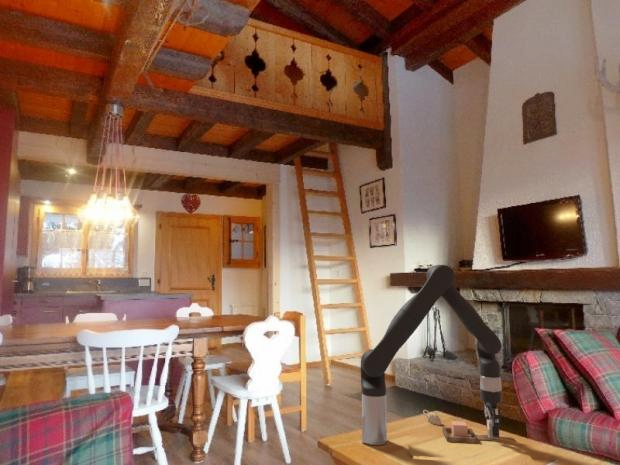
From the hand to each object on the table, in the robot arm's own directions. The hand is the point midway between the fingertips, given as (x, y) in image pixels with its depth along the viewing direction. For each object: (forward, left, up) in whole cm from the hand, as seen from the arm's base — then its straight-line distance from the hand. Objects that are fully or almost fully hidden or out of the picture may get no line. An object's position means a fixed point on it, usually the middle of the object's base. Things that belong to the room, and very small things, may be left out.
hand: (492, 432), depth 163 cm
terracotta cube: (-12, 0, -2) cm, 12 cm away
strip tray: (-8, 0, -3) cm, 9 cm away
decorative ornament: (-20, +16, -4) cm, 26 cm away
